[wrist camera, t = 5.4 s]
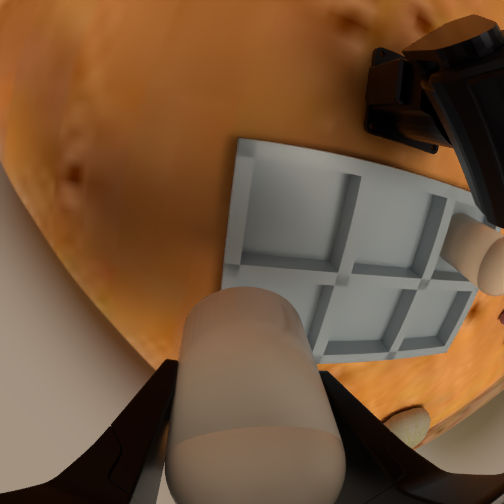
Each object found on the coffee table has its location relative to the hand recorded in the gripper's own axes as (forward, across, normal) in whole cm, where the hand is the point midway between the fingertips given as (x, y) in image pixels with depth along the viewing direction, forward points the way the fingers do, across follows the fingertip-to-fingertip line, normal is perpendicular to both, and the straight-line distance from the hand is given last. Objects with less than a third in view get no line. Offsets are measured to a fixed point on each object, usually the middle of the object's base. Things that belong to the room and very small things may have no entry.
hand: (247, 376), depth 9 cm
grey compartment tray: (+12, -11, +1) cm, 16 cm away
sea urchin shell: (+12, -28, +25) cm, 39 cm away
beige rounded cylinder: (+12, -19, -3) cm, 22 cm away
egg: (+2, 0, 0) cm, 2 cm away
